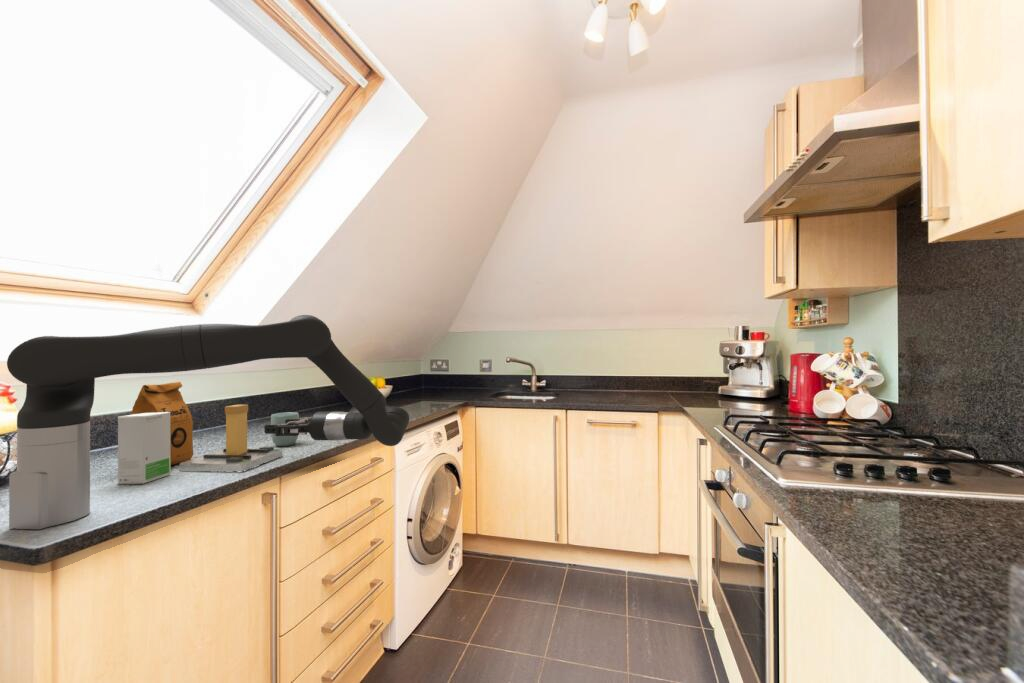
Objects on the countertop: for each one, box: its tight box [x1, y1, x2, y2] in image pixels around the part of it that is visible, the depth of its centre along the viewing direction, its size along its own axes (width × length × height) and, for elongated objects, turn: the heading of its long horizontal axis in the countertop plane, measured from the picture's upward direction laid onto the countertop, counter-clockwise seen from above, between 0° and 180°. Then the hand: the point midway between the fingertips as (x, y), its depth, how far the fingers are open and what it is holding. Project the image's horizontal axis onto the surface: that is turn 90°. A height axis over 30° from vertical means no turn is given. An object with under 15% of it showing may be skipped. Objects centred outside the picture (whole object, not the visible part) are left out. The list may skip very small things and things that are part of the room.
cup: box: [270, 411, 300, 447], centre depth 140 cm, size 8×8×10 cm
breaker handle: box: [224, 404, 249, 455], centre depth 119 cm, size 4×3×13 cm
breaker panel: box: [179, 446, 283, 473], centre depth 118 cm, size 16×17×3 cm
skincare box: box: [117, 412, 172, 485], centre depth 104 cm, size 8×7×16 cm
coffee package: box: [131, 381, 194, 466], centre depth 117 cm, size 10×12×22 cm
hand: (275, 426), depth 118 cm, fingers open, 8 cm apart
